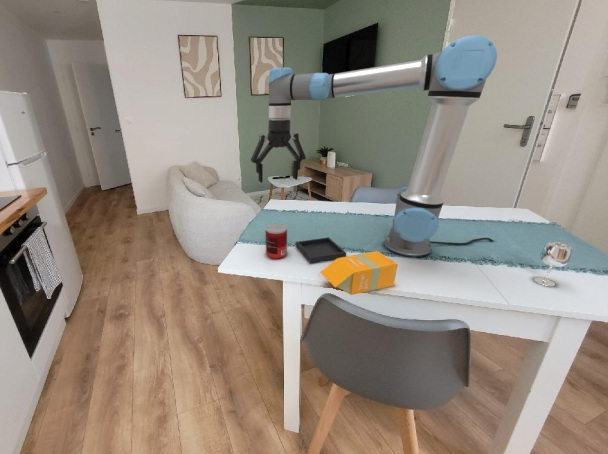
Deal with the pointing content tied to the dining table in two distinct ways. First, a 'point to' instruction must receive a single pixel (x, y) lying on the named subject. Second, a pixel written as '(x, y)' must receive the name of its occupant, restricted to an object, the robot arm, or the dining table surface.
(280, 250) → the canned food
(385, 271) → the orange juice
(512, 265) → the dining table surface
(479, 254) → the dining table surface
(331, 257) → the base pad
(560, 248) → the wineglass
